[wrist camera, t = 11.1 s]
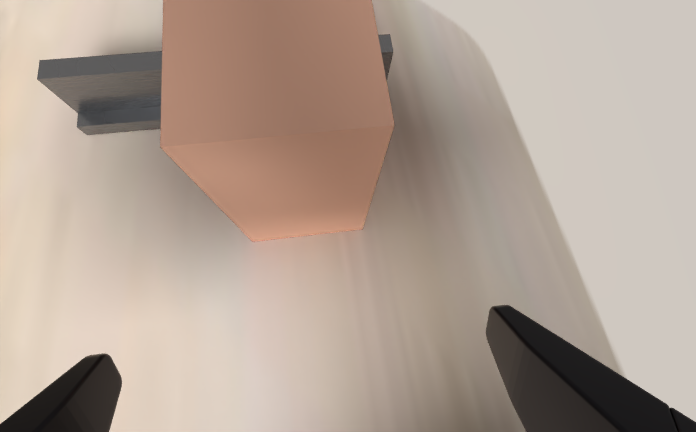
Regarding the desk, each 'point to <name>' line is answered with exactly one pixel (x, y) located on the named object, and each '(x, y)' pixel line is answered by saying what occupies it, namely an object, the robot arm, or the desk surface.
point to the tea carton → (277, 110)
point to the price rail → (121, 88)
